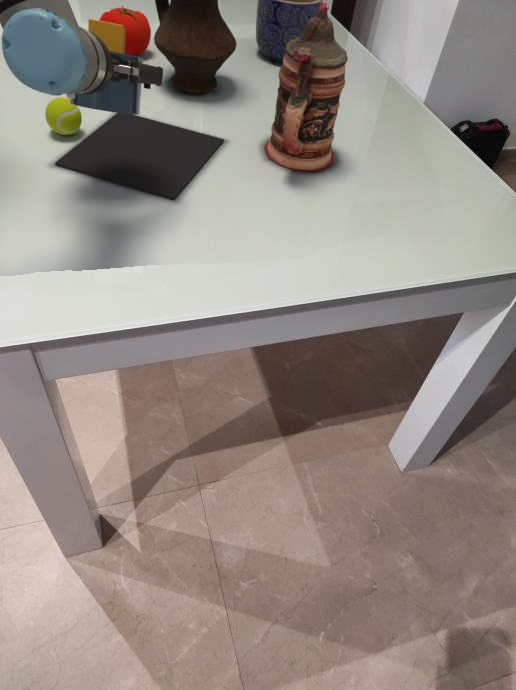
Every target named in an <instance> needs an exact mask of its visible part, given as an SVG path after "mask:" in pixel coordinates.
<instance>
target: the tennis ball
mask: <svg viewBox="0 0 516 690" xmlns="http://www.w3.org/2000/svg"><path fill="white" fill-rule="evenodd" d="M44 111H45V112H44V116H45V120H46V123H47V125H48V126H49V128H50V129H51V130H52V131H54V132H55V133H57V134H59V135H62V136H69V135H73V134H75V133H76V132H78V131H79V129H80V127H81V126H82V123H83V121H82V120H83V117H82V112H81V109H80V107H79V106H76V105H72V104H70V98H68V97H67V98H66V97H55V98H53V99H51V100H50V101H49V102H48V103H47V105H46V107H45V110H44Z"/></svg>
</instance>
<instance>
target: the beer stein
mask: <svg viewBox="0 0 516 690" xmlns="http://www.w3.org/2000/svg"><path fill="white" fill-rule="evenodd" d="M327 5H328V3H327V2H323V3H321V5H320V8H319V10H318V14H317V15H316V17H313V18H310V21H308V22H307V24H306V26H305V28H304V30H303V33H302V35H301V36H300V37H297V38H295V39H293V40H291V41H288V43H287V45H286V53H285V56H284V59H283V63H282V64H281V67H280V68H279V70H278V79H279V81H278V84H279V85H278V88H277V97H276V101H275V114H274V120H273V122H272V124H271V128H270V131H271V136H270V138H269V140H268V141H267V142H266V144H264V151H265V153H266V156H267V158H268V160H270V161H272V162H274V163H275V164H277V165H280V166H281V167H284V168H289V169H291V170H293V171H297V172H298V171H303V172H322V170H323V169H326V168H329V166H330V165H332V164H333V163H334V161H336V160H335V157H334V156H335V155H334V154H333V153H334V151H333V150H332V144H333V141H334V139H335V132H334V128H335V124H336V123H335V122H336V120H337V117H338V113H339V107H340V105H341V103H340V98H341V95H342V91H343V89H344V88H345V86H346V65H347V62H348V59H349V56H347V51H346V50H345V49H344V48H343V47H342V46H341V45H340V44H339V43H338V42H337V40H336V38H335V29H334V23H333V21H332V20H331V18H330V17H329V15H328V10H329V9H330V6H327Z"/></svg>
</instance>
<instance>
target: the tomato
mask: <svg viewBox="0 0 516 690" xmlns="http://www.w3.org/2000/svg"><path fill="white" fill-rule="evenodd" d="M109 9H110V10H108V11H104V12H103V13H102V14H101V16H100V18H99V19H98V20H99V21H104V22H109V23H114V24H119V25H123V26H124V27H125V52H124V54H127V55H132V56H139V55H140V54H142V53H144V52H145V51H147V49H148V48H149V45H150V41H151V36H152V28H151V25H150V22H149V19H148V18H147V16H146V15H145V13H143V12H141V11H140V10H133V9H130V8H127V7H124V6H123V5H121V7H115V8H110V7H109Z"/></svg>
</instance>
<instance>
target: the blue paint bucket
mask: <svg viewBox="0 0 516 690" xmlns="http://www.w3.org/2000/svg"><path fill="white" fill-rule="evenodd" d="M109 52H110V54H114V55H119V56H121V59H122V60H123V61H133V60H135V61H137V62H139V63H142V64H144V58H143V57H140V56H137V55H135V56H132V55H127V54H122V53H117V52H112V51H109ZM142 84H143V83H139V82H136V83H135V82H132V81H130V80H125V79H121V81H120V82H113V81H109V82H108V83H107V85H106V86H105V87H104V88H103V89H102V90H100V91H98V92H96V93H92V94H78V93H75V98H74V99H70V98H69V100H70V104H72V105H76V106H78V107H79V108H80V107H81V108H85V109H91V110H97V111H103V112H108V113H109V112H110V113H115V114H117V113H124V114H133V115H136V116H139V115H140V114H141V102H142Z"/></svg>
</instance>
